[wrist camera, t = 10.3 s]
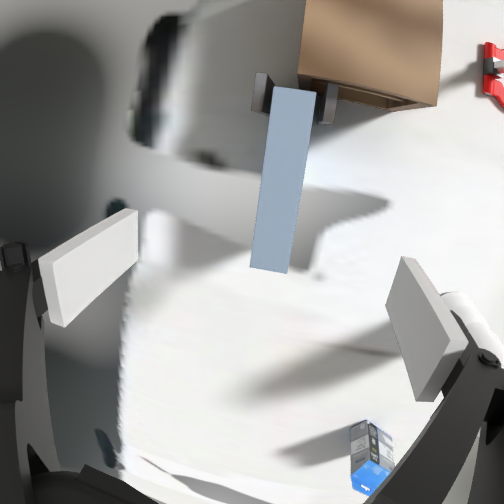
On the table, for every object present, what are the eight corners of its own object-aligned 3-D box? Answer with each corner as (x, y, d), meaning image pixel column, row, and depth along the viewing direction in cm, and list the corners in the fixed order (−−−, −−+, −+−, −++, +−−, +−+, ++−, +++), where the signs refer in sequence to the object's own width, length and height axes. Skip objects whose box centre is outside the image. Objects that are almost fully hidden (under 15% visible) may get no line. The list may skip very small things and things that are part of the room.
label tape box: (392, 437, 46) (400, 493, 35) (373, 446, 48) (378, 501, 37) (367, 418, 45) (373, 479, 34) (347, 428, 47) (349, 489, 35)
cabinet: (285, -24, 25) (274, -81, 14) (403, -1, 23) (440, -46, 12) (266, 115, 31) (246, 109, 20) (389, 138, 30) (430, 146, 19)
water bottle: (449, 340, 38) (511, 489, 15) (414, 324, 37) (472, 492, 15) (478, 300, 35) (568, 441, 12) (444, 280, 35) (540, 438, 12)
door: (282, 99, 31) (272, 86, 20) (312, 103, 30) (316, 92, 20) (265, 225, 36) (248, 266, 26) (292, 230, 36) (286, 273, 26)
